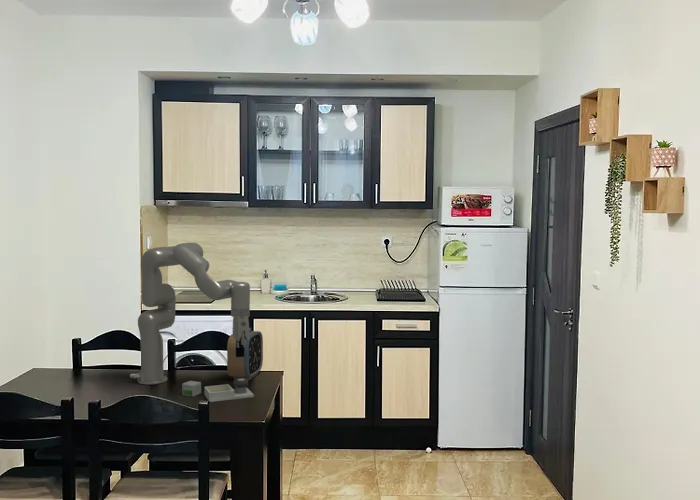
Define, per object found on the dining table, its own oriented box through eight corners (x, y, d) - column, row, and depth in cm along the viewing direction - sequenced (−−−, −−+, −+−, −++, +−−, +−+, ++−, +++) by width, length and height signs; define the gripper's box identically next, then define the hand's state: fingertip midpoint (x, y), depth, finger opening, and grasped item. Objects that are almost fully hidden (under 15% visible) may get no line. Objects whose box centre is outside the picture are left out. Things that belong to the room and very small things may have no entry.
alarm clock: (247, 383, 292) (247, 334, 290) (227, 382, 293) (227, 333, 292) (263, 371, 312) (263, 325, 310) (244, 370, 314) (243, 325, 312)
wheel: (235, 393, 270) (235, 382, 270) (232, 389, 276) (231, 378, 275) (249, 391, 273) (249, 380, 272) (246, 388, 278) (246, 377, 278)
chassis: (209, 401, 264) (209, 393, 264) (204, 394, 274) (204, 386, 273) (253, 396, 271) (253, 388, 271) (247, 390, 281) (247, 382, 280)
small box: (181, 395, 273) (181, 383, 273) (190, 391, 279) (190, 380, 278) (193, 397, 271) (193, 385, 271) (201, 393, 276) (201, 381, 276)
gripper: (254, 315, 266) (253, 360, 268) (244, 308, 280) (244, 351, 282) (235, 316, 264) (235, 361, 265) (227, 309, 277) (226, 353, 279)
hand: (239, 356), depth 273 cm, fingers closed
